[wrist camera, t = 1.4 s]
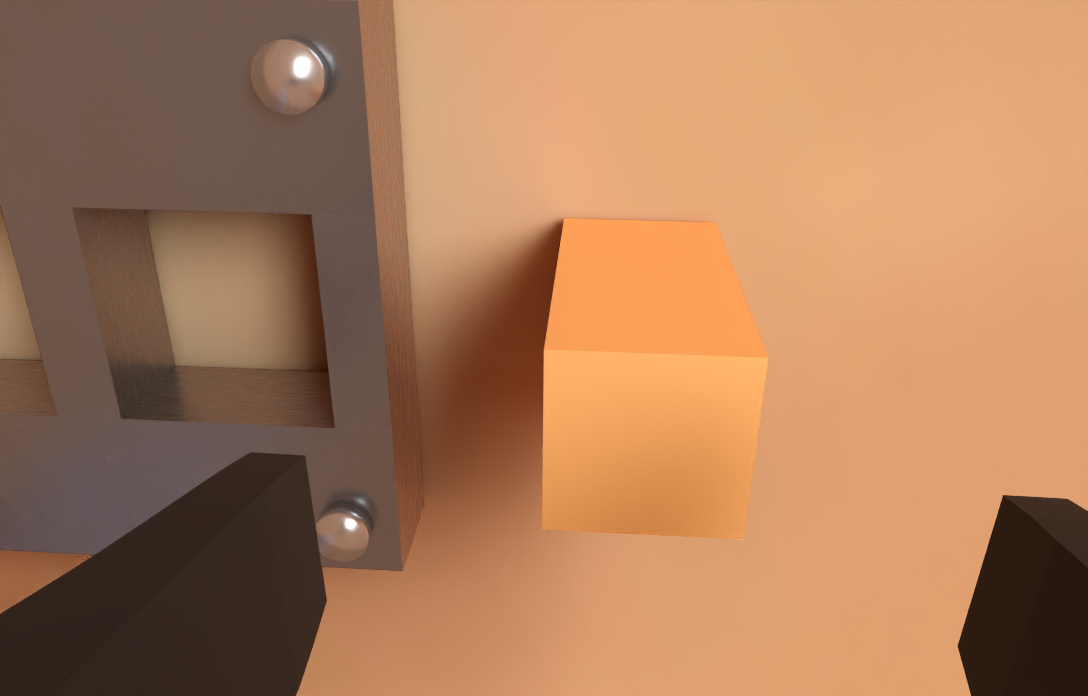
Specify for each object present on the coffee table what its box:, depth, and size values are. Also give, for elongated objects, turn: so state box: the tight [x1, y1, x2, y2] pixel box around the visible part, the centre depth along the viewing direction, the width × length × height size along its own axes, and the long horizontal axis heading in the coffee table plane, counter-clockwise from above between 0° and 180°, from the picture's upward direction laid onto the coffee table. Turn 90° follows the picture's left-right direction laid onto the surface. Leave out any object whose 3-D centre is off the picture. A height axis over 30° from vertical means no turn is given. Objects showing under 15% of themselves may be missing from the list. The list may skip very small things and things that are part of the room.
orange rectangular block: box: [542, 218, 768, 539], centre depth 16 cm, size 3×3×6 cm
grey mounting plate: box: [0, 0, 424, 571], centre depth 18 cm, size 12×13×3 cm
